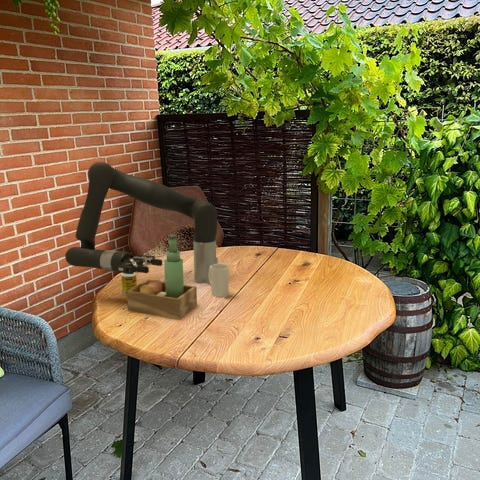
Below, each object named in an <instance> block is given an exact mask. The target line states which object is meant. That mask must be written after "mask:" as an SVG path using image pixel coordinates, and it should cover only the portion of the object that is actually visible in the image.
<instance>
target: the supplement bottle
mask: <svg viewBox="0 0 480 480" xmlns="http://www.w3.org/2000/svg"><path fill="white" fill-rule="evenodd" d="M120 276H121V288H122V294H123V295H124V296H127V291H129V290H131V289H132V288H134V287H136V286H138V282H137V273H135V272H134V274H126V273H121V275H120Z"/></svg>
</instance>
